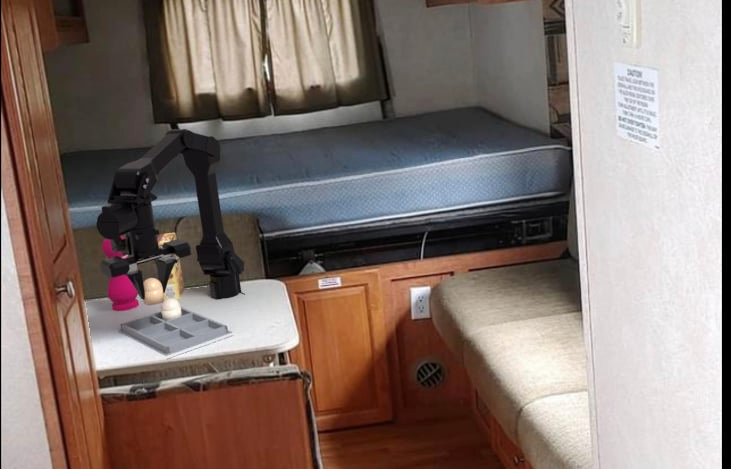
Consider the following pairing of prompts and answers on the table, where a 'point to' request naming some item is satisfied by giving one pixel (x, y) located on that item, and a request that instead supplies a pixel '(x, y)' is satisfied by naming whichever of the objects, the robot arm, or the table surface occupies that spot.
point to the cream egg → (170, 309)
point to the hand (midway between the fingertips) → (153, 295)
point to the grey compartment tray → (174, 331)
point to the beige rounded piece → (153, 292)
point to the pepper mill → (120, 284)
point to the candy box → (176, 278)
